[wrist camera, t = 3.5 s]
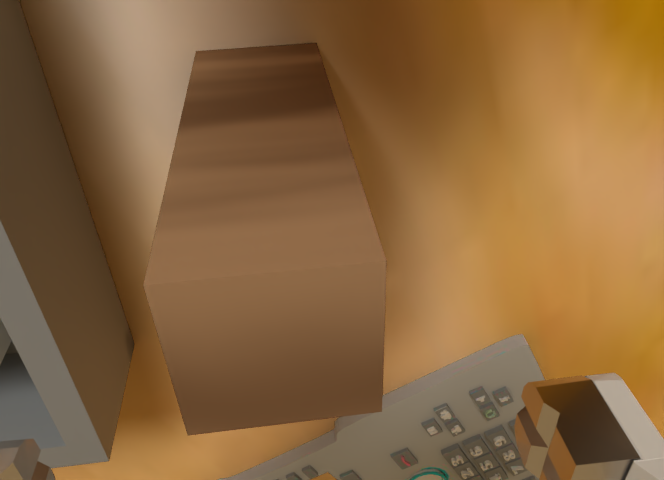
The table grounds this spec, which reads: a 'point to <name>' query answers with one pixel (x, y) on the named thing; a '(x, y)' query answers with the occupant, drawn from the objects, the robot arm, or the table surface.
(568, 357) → the table surface
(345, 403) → the peg
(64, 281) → the open box
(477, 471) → the office telephone
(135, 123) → the table surface
